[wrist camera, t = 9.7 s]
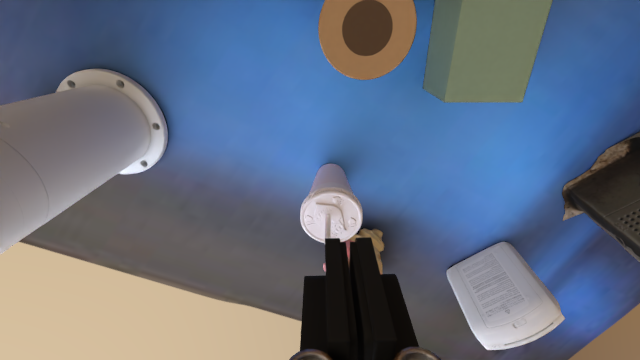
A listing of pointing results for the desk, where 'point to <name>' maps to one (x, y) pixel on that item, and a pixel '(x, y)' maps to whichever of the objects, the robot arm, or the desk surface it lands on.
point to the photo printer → (503, 298)
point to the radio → (611, 194)
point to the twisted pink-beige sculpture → (376, 241)
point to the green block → (483, 49)
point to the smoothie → (331, 206)
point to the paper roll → (366, 35)
